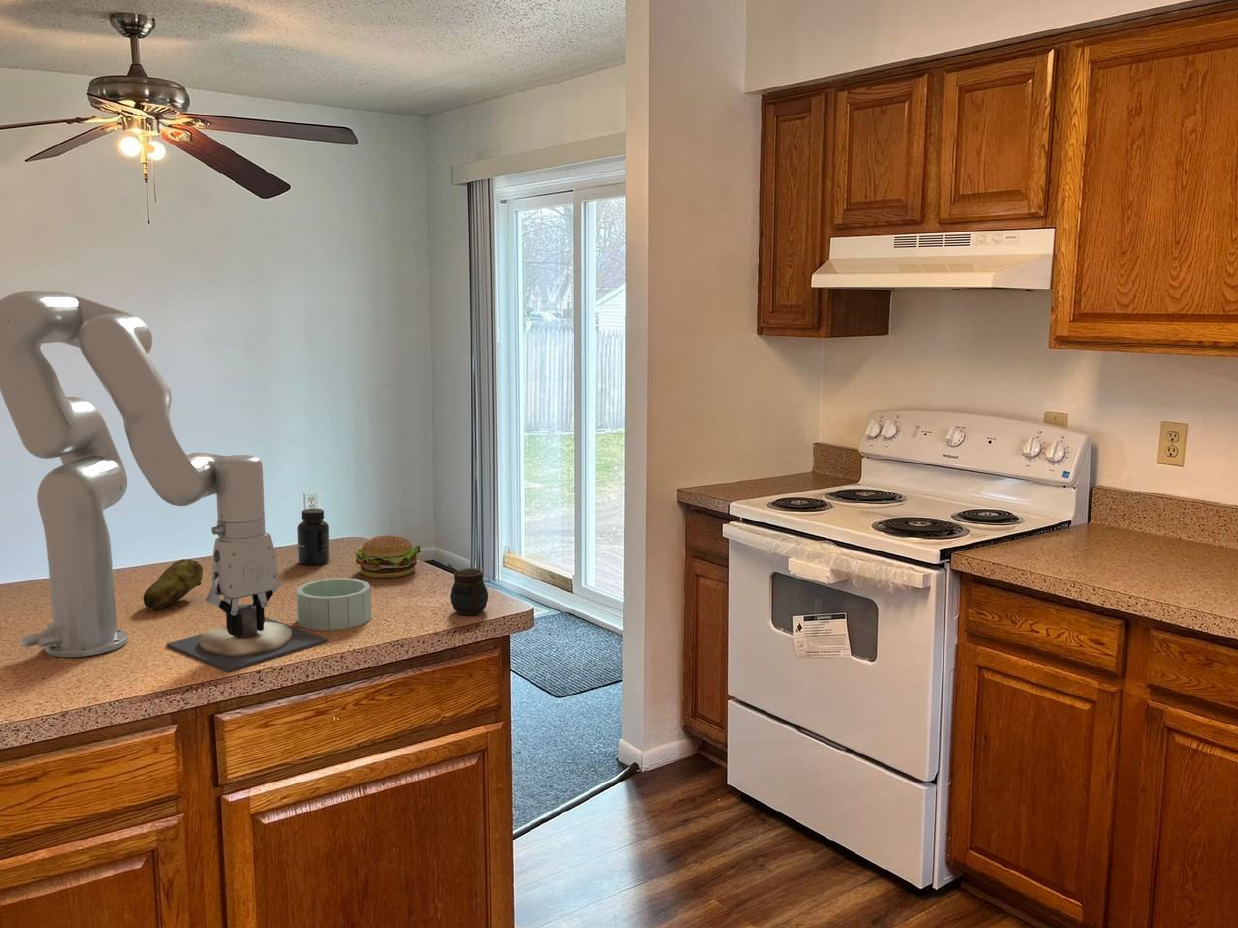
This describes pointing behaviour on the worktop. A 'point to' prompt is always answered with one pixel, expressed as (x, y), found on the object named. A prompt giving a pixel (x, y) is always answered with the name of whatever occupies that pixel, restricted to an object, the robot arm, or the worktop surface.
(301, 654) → the worktop surface
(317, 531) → the supplement bottle
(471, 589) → the mate gourd
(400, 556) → the food
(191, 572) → the potato
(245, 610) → the lid
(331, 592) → the bowl
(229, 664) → the mat
